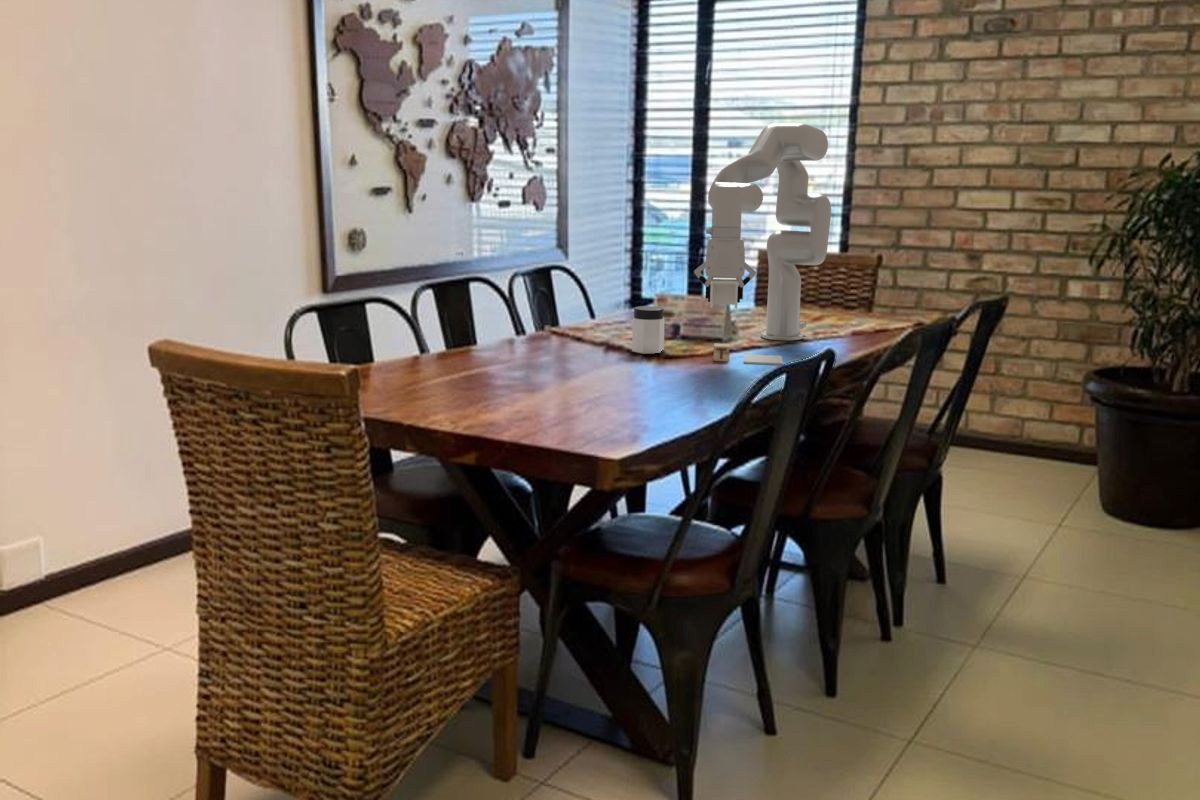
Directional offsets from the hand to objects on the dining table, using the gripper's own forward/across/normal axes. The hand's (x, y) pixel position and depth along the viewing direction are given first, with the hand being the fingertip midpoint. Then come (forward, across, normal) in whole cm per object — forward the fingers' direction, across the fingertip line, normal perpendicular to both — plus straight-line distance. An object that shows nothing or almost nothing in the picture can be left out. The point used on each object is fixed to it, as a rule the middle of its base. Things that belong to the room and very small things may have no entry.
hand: (724, 301), depth 270 cm
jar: (+16, -21, +7) cm, 27 cm away
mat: (+16, +11, 0) cm, 19 cm away
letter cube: (+16, 0, 0) cm, 16 cm away
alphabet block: (+1, 0, 0) cm, 1 cm away
